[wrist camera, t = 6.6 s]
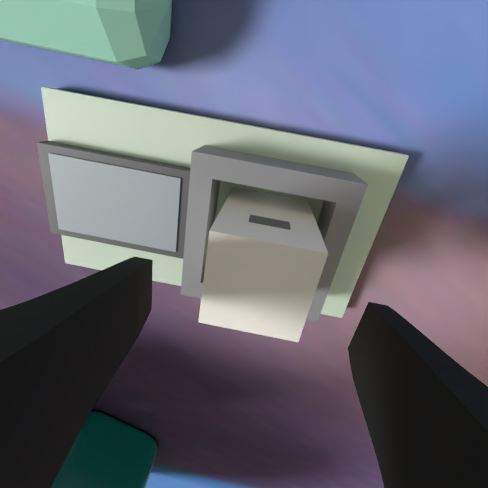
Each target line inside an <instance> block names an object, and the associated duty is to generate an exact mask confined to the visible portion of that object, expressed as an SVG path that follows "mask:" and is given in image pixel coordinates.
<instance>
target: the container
mask: <svg viewBox="0 0 488 488" xmlns="http://www.w3.org/2000/svg"><path fill="white" fill-rule="evenodd" d="M171 12H172V0H0V40H2V41H7V42H11V43H16V44H21V45H26V46H30V47H35V48H40V49H45V50H49V51H54V52H59V53H63V54H68V55H73V56H78V57H82V58H87V59H92V60H97V61H101V62H106V63H111V64H115V65H120V66H125V67H130V68H134V69H140V68H143V67H146V66H149V65H152V64H156V63H159V62H161V59H162V57H163V54H164V52H165V49H166V47H167V44H168V42H169V40H170V29H171Z"/></svg>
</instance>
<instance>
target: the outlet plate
mask: <svg viewBox="0 0 488 488" xmlns="http://www.w3.org/2000/svg"><path fill="white" fill-rule="evenodd" d="M41 90H42V97H43V105H44V112H45V119H46V126H47V134H48V141H43V142H37V148H38V154H39V160H40V167H41V173H42V180H43V186H44V193H45V199H46V205H47V212H48V218H49V225H50V231H51V233H54V234H59V235H62V243H63V250H64V257H65V263H68V264H73V265H78V266H83V267H88V268H93V269H98V270H104V269H106V268H108V267H111V266H113V265H115V264H117V263H120V262H122V261H124V260H127V259H129V258H132V257H140V258H145V259H150V260H153V265H152V280H153V281H158V282H163V283H168V284H173V285H178V286H181V295H186V296H191V297H196V298H201V297H202V288H203V280H204V271H205V263H206V254H207V246H208V237H209V230H210V228H211V227H212V225H213V223H214V221H215V219H216V218H217V216H218V214H219V212H220V210H221V209H222V207H223V205H224V203H225V202H226V200H227V198H228V196H229V194H230V193H231V191H232V189H233V187H236V188H241V189H246V190H252V191H257V192H262V193H267V194H273V195H278V196H283V197H289V198H294V199H299V200H304V201H309V204H310V207H311V209H312V212H313V215H314V217H315V220H316V222H317V225H318V228H319V230H320V233H321V235H322V238H323V241H324V243H325V246H326V248H327V251H328V256H327V259H326V262H325V265H324V268H323V271H322V274H321V277H320V280H319V283H318V286H317V288H316V291H315V294H314V297H313V300H312V303H311V306H310V309H309V312H308V315H307V318H306V319H307V320H312V321H317V322H318V319H319V316H320V314H324V315H329V316H334V317H339V318H342V316H343V314H344V312H345V309H346V307H347V304H348V302H349V299H350V297H351V295H352V292H353V290H354V287H355V285H356V283H357V280H358V278H359V275H360V273H361V271H362V268H363V266H364V263H365V261H366V259H367V256H368V254H369V251H370V249H371V246H372V244H373V242H374V239H375V237H376V234H377V232H378V230H379V227H380V225H381V222H382V220H383V218H384V215H385V213H386V210H387V208H388V206H389V203H390V201H391V198H392V196H393V193H394V191H395V189H396V186H397V184H398V181H399V179H400V177H401V174H402V172H403V169H404V167H405V165H406V162H407V160H408V157H409V156H408V155H405V154H402V153H398V152H392V151H387V150H382V149H376V148H371V147H366V146H360V145H355V144H350V143H344V142H339V141H334V140H328V139H323V138H317V137H312V136H307V135H301V134H296V133H291V132H285V131H280V130H275V129H269V128H264V127H259V126H253V125H248V124H243V123H237V122H232V121H226V120H221V119H216V118H210V117H205V116H200V115H194V114H189V113H184V112H178V111H173V110H168V109H162V108H157V107H152V106H146V105H141V104H136V103H130V102H125V101H119V100H114V99H109V98H103V97H98V96H93V95H87V94H82V93H77V92H71V91H66V90H61V89H55V88H46V87H41Z"/></svg>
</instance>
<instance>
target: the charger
mask: <svg viewBox="0 0 488 488" xmlns="http://www.w3.org/2000/svg"><path fill="white" fill-rule="evenodd" d="M327 256H328V251H327V248H326V246H325V243H324V241H323V238H322V235H321V233H320V230H319V228H318V225H317V222H316V220H315V217H314V215H313V212H312V209H311V207H310V204H309V201H304V200H299V199H294V198H289V197H283V196H278V195H273V194H267V193H262V192H257V191H252V190H246V189H241V188H236V187H233V189H232V191H231V193H230V194H229V196H228V198H227V200H226V202H225V203H224V205H223V207H222V209H221V210H220V212H219V214H218V216H217V218H216V219H215V221H214V223H213V225H212V227H211V228H210V230H209V237H208V246H207V254H206V263H205V271H204V280H203V288H202V297H201V305H200V313H199V323H204V324H209V325H214V326H219V327H224V328H229V329H235V330H240V331H245V332H250V333H255V334H260V335H265V336H270V337H275V338H280V339H285V340H290V341H295V342H299V339H300V336H301V333H302V330H303V327H304V324H305V321H306V318H307V315H308V312H309V309H310V306H311V303H312V300H313V297H314V294H315V291H316V288H317V286H318V283H319V280H320V277H321V274H322V271H323V268H324V265H325V262H326V259H327Z"/></svg>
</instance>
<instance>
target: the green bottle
mask: <svg viewBox="0 0 488 488" xmlns="http://www.w3.org/2000/svg"><path fill="white" fill-rule="evenodd" d="M157 451H158V446H157V444H156V442H155V440H154V438H152V437H151V436H150V435H149V434H147V433H145V432H142V431H140V430H138V429H136V428H134V427H132V426H130V425H128V424H126V423H124V422H121V421H119V420H117V419H115V418H113V417H111V416H109V415H107V414H105V413H102V412H98V411H91V412H90V413H89V415H88V417H87V419H86V421H85V423H84V425H83V426H82V428H81V430H80V432H79V434H78V436H77V438H76V440H75V442H74V444H73V445H72V447H71V449H70V451H69V453H68V455H67V457H66V459H65V461H64V463H63V465H62V467H61V469H60V471H59V473H58V475H57V477H56V479H55V481H54V483H53V485H52V487H51V488H146V485H147V482H148V479H149V476H150V473H151V470H152V468H153V465H154V462H155V459H156V456H157Z"/></svg>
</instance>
